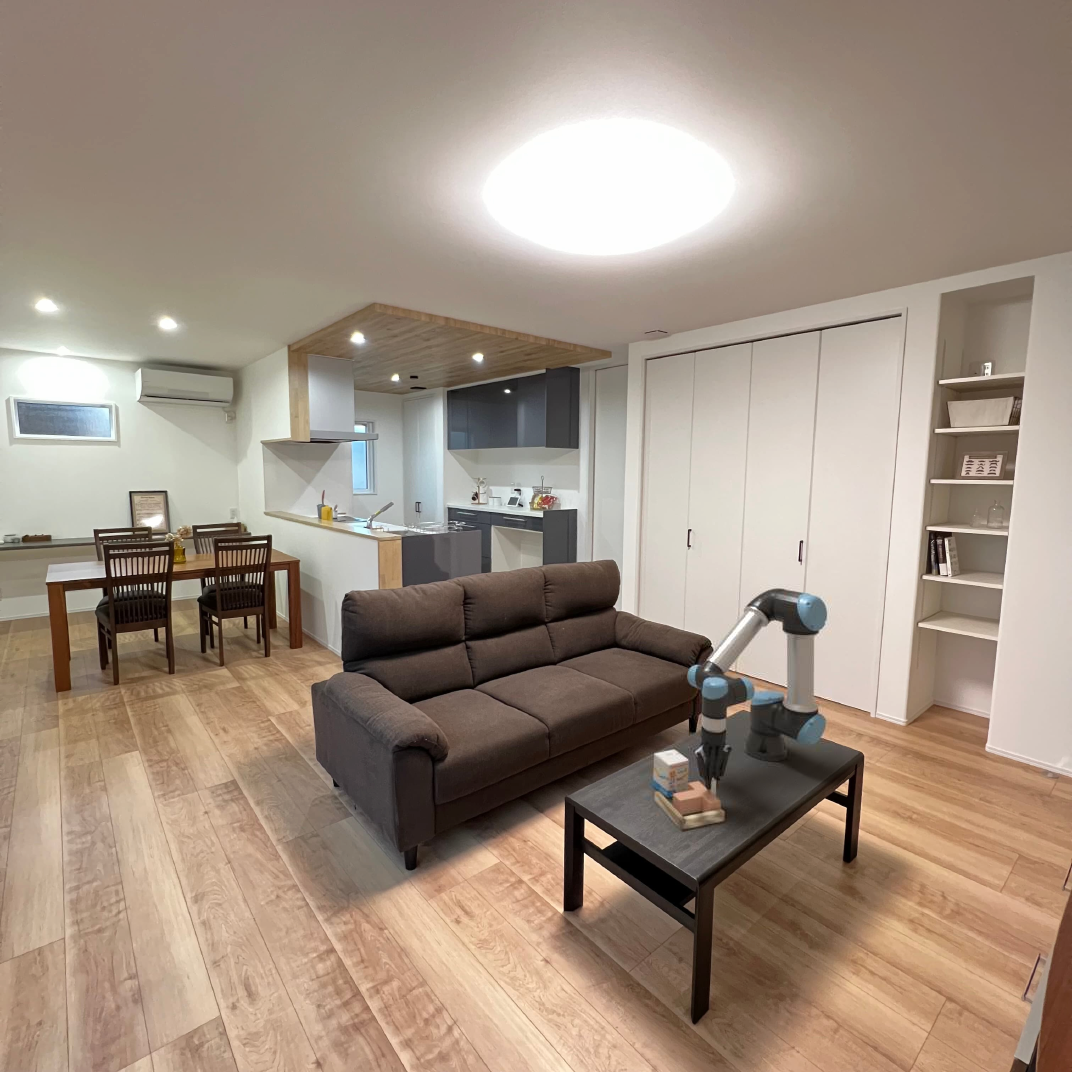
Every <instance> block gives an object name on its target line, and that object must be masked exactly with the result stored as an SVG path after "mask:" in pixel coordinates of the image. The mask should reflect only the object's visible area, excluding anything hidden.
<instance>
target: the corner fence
mask: <svg viewBox="0 0 1072 1072" xmlns="http://www.w3.org/2000/svg"><path fill="white" fill-rule="evenodd" d="M654 802H655V803H656V805H658V806H659V807H660V808H661V810H662V811H663V812H664V813H665V814H666V815H667V816H668V817H669V819H670V820H671V821H672V822H673V823H674V824H675V825H676V826H677V827H678V828H679V830H681V831H683V830H688V829H692V828H698V827H701V826H706V825H707V826H708V825H711V824H716V823H720V822H725V814H726V813H725V811H724V810H723V808H720V809H719V810H714V811H709V812H704V813H703V812H698V813H696V814H695V813H694V814H690V815H681V814H680V813H679V812H678V811H677V810H676V809H675V808H674V807H673V804H672V803H671V802H670V801H669V800H668V798H667V797H666V796H665V795H663V794H662V793H661V792H660V791H659V790H657V791H654Z"/></svg>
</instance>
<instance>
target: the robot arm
mask: <svg viewBox="0 0 1072 1072" xmlns="http://www.w3.org/2000/svg"><path fill="white" fill-rule="evenodd" d="M827 619H828V609H827V606H826V604H825V602H824V601H823V600H822V598H820V597H819V596H817V595H813V594H811V593H808V592H800V591H794V590H789V589H785V588H779V587H778V588H771V589H768V590H765V591H763V592H761V593H760V594H758V595H757V596H756V597H755V596H754V598H753V599H752V600H750V601H749V602H748V603H747V605H746V606H745V607H744V608H743V615H742V616H741V617H740V618H739V619H738V620H737V622H736V623H735V624H734V625H733V626H732V628H731V629H730V630H729V632H728V633H727V634H726V635H725V636H724V638H722V640H721V641H720V643H719V644H718V645H717V647H715V648H714V650H713V651H712V652H711V653H710V655H709V656H708V658H707V659H706V660H705V661H704V662H703V663H702V665H701V664H695V665H692V666H691V667H690V668H689V669H688V671H687V675H686V676H687V682H688V683H689V684H690V685H691V687H695V688H696V689H698V690H700V691H701V698H702V699H701V704H702V705H701V727H700V738H701V742H700V744H699V748H698V749H694V750H693V754H694V756H695V758H696V762H697V763H696V764H697V766H698V767H697V769H698V773H699V777H701V778H702V779H703V780H704V784H705V785H704V786H705V787H706V789H708V790H709V791H710V792H711V793H712V794H713V795H715V796H716V797H717V789H718V788H719V782H720V781H721V780H722V779H721V778H723V777H724V776H725V773H726V769H727V765H728V761H729V757H730V754H731V752H732V751H733V748H732V747H731V746H730V745H728V743H726V740H727V737H726V736H727V715H728V713H727V712H728V708H729V707H732V706H737V705H739V704H743V703H746V702H747V701H750V703H749V704H750V712H749V730H748V733H747V735H746V739H744V743H743V750H744V751H745V753H746V754H748V755H749V756H751V757H753V758H755V759H757V760H762V761H767V762H779V761H782V760H785V759H786V758H787V755H788V754H787V753H788V751H787V750H788V749H787V747H786V742H785V739H784V736H786V737H788V738H791V739H792V740H795V741H797V742H799V743H802V744H805V745H809V746H810V745H814V744H816V743H817V742H818V741H819V740H820V739H821V738H822V736H823V735H824V732H825V730H826V727H827V726H826V725H827V719H826V717H825V716H824V715H823V714H821V713H820V712H819V704H818V703H817V702H816V701H815V699H814V697H815V693H814V692H815V687H814V686H815V637H816V636H817V635H819V632H820V630H822V629H823V628H825V626H826V621H827ZM773 621H774V622H775V621H776V622H779V623H782V624H781V625H782V627H781V628H782V632H783V633H784V634H785V635H786V647H787V648H786V649H787V650H786V651H787V652H786V654H787V655H786V656H787V657H786V672H787V673H786V675H787V676H786V679H787V680H786V682H787V684H786V698H785V695H784V693H782V692H780V691H775V690H759V691H756V692H755V685H754V684H753V682H752V681H751V680H750V679H749V678H747V677H744V676H743V677H736V678H733V677H731V676H729V675H727V672H728V671H729V669H730V668H731V667H732V666H733V664H734V663H736V660H737V659H738V658H739V657H740V655H742V653H743V652H744V651H745V649H746V648H747V647H748V646H749V644H750V643H751V642H752V641H753V639H754V638H755V637H756V635H757V634H758V633H759V632H760V631H761V629H762V628H765V627H768V626H769V624H770V623H771V622H773ZM725 674H726V675H725Z"/></svg>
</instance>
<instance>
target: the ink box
mask: <svg viewBox="0 0 1072 1072" xmlns="http://www.w3.org/2000/svg"><path fill="white" fill-rule="evenodd" d="M689 763H690V761H689V758H687V757H686V756H684V755H683V754H681V753H680V752H679V751H677V750H676V749H669V750H664V751H659V752H654V753H653V776H652V778H653V779H652V787H654V789H657V791H659V792H660V793H661V794H662V795H663V796H664V797H665V798H666V799H669V798H673V794H674V793H680V792H685V791H688V783H689V771H690V770H689V765H690V764H689Z"/></svg>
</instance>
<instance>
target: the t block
mask: <svg viewBox="0 0 1072 1072" xmlns="http://www.w3.org/2000/svg"><path fill="white" fill-rule="evenodd" d="M721 803H722V801H721V800H720V798H718V797H717V795H716V796H715V795H713V794H712V793H711V792H710V791H709V790H708V789H706V787H705V785H704V784H702V783H701V781H699V780H698V781H692V782H688V791H685V792H680V793H674V794H673V797H672V806H673V807H674V808H675V809H676V810H677V811H678V812H679V813H680V814H681V815H682V816H687V815H689V814H690V815H691V814H695V813H704V812H709V811H714V810H719V809H722V807H721V805H722V804H721Z"/></svg>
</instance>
